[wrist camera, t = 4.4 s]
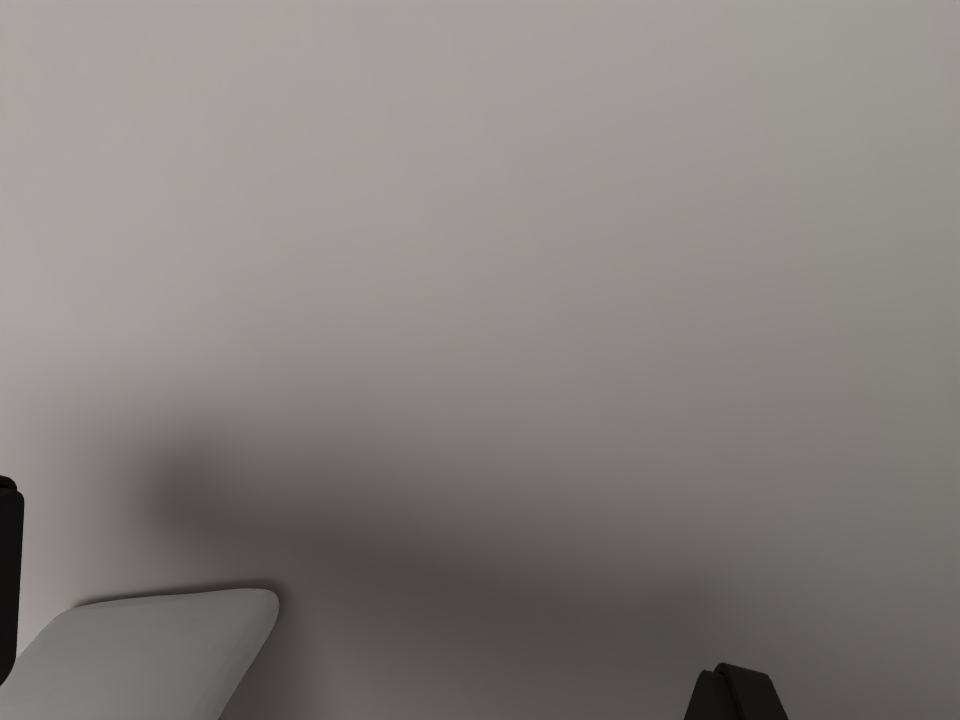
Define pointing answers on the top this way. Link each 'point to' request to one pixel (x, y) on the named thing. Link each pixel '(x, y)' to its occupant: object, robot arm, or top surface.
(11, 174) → the top surface
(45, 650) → the spoon rest
